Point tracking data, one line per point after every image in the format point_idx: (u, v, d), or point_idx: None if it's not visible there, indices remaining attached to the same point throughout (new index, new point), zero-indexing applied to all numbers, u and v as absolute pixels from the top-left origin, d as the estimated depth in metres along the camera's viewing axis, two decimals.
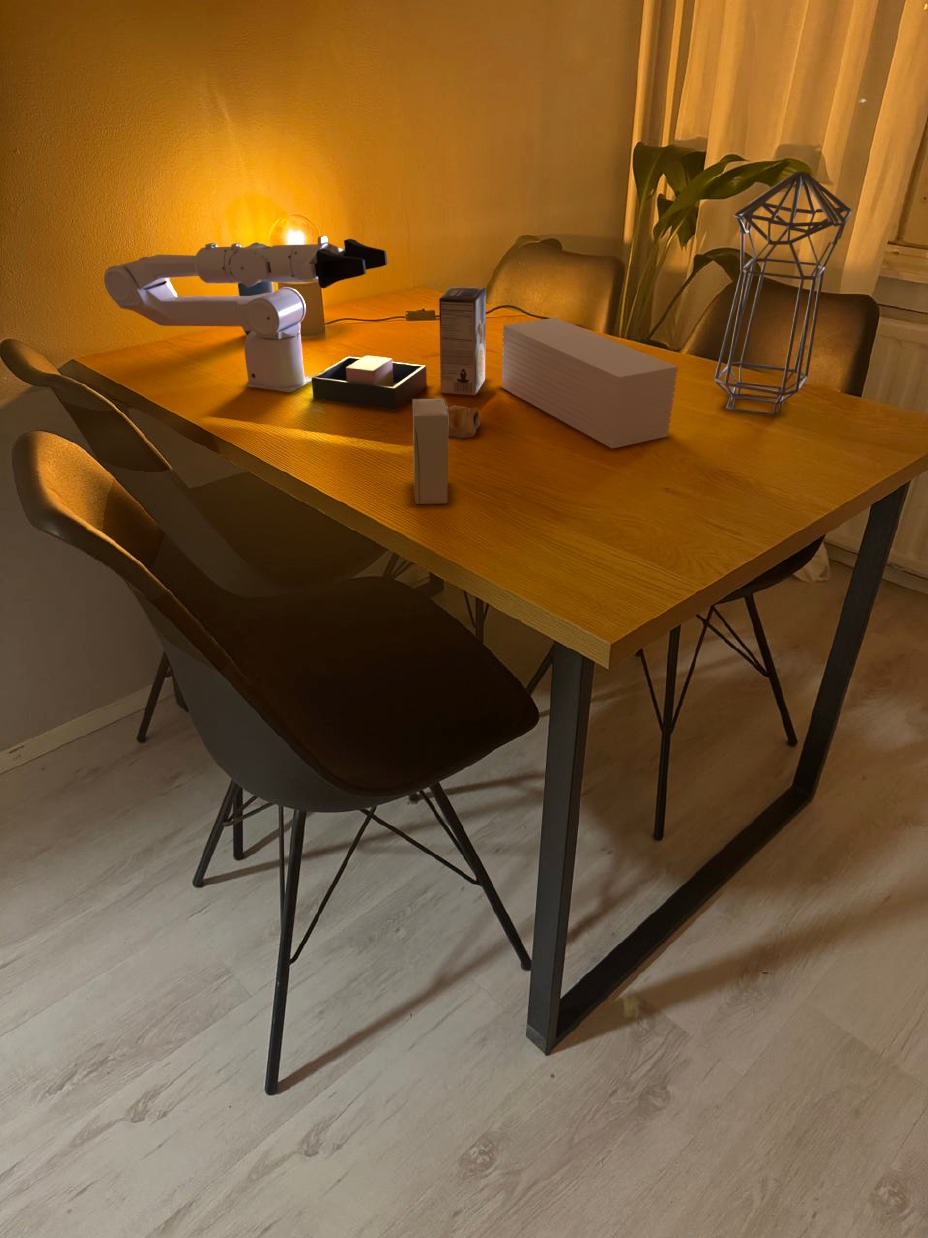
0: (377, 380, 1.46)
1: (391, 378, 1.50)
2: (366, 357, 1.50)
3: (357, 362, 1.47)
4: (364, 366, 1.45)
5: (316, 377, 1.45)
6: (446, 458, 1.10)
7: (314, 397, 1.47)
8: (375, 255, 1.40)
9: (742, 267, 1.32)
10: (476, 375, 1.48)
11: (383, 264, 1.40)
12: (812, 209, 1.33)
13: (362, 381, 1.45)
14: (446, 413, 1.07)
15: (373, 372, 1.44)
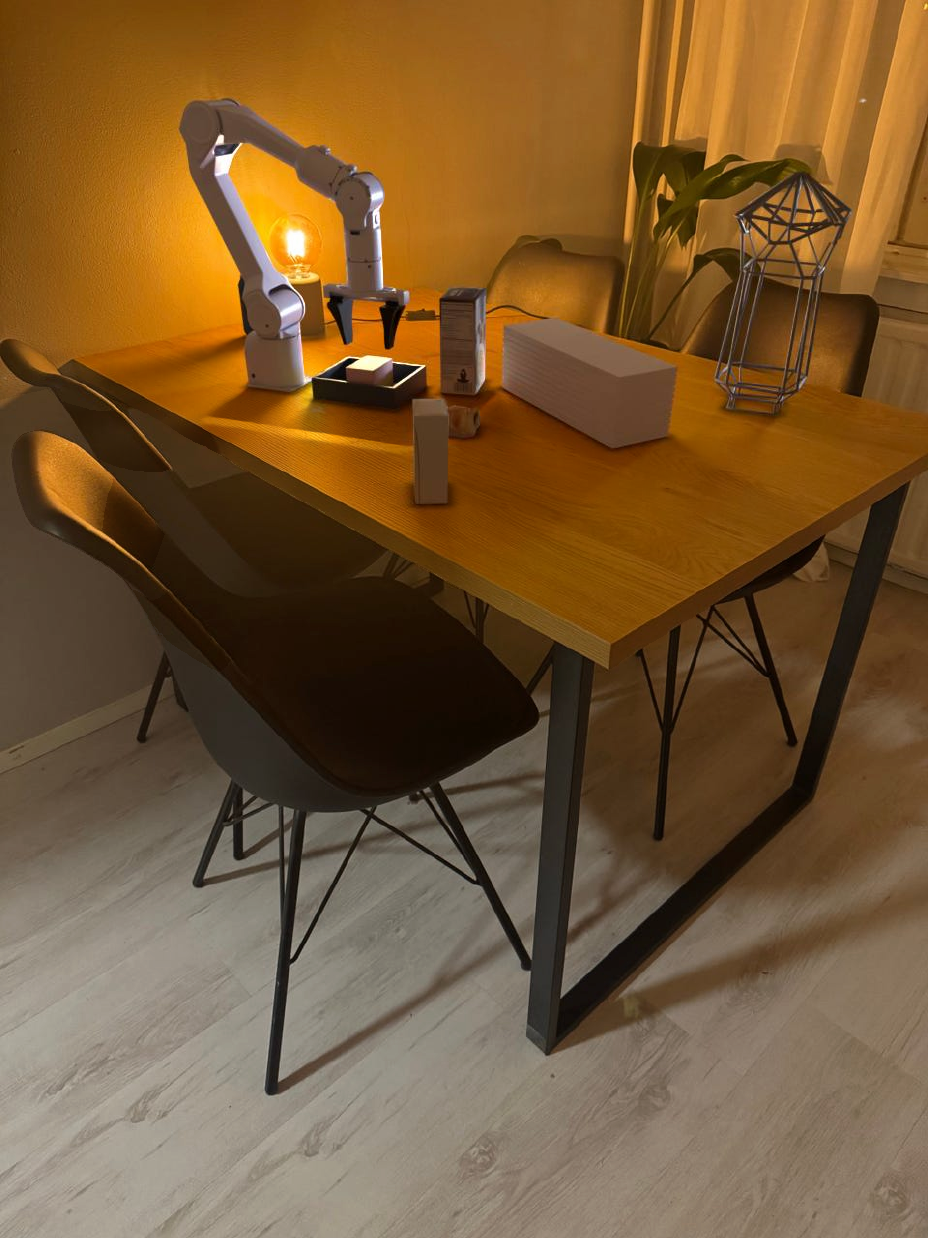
0: (377, 380, 1.46)
1: (391, 378, 1.50)
2: (366, 357, 1.50)
3: (357, 362, 1.47)
4: (364, 366, 1.45)
5: (316, 377, 1.45)
6: (446, 458, 1.10)
7: (314, 397, 1.47)
8: (350, 332, 1.46)
9: (742, 267, 1.32)
10: (476, 375, 1.48)
11: (347, 342, 1.46)
12: (812, 209, 1.33)
13: (362, 381, 1.45)
14: (446, 413, 1.07)
15: (373, 372, 1.44)
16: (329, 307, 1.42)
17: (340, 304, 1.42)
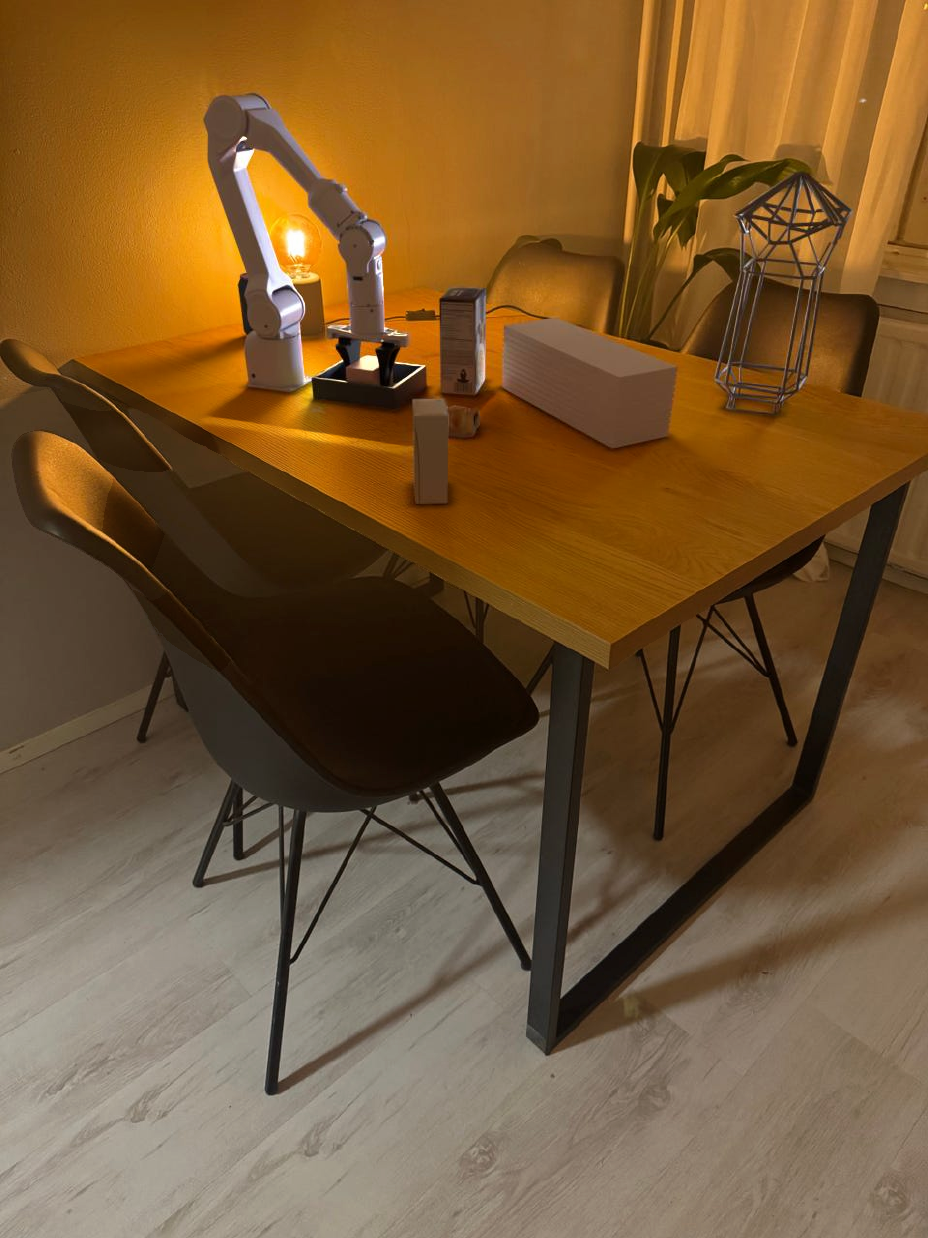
0: (377, 380, 1.46)
1: (390, 378, 1.50)
2: (366, 357, 1.50)
3: (357, 362, 1.47)
4: (364, 366, 1.45)
5: (316, 377, 1.45)
6: (446, 458, 1.10)
7: (314, 397, 1.47)
8: None
9: (742, 267, 1.32)
10: (476, 375, 1.48)
11: None
12: (812, 209, 1.33)
13: (362, 381, 1.45)
14: (446, 413, 1.07)
15: (373, 372, 1.44)
16: (338, 349, 1.45)
17: (348, 346, 1.45)
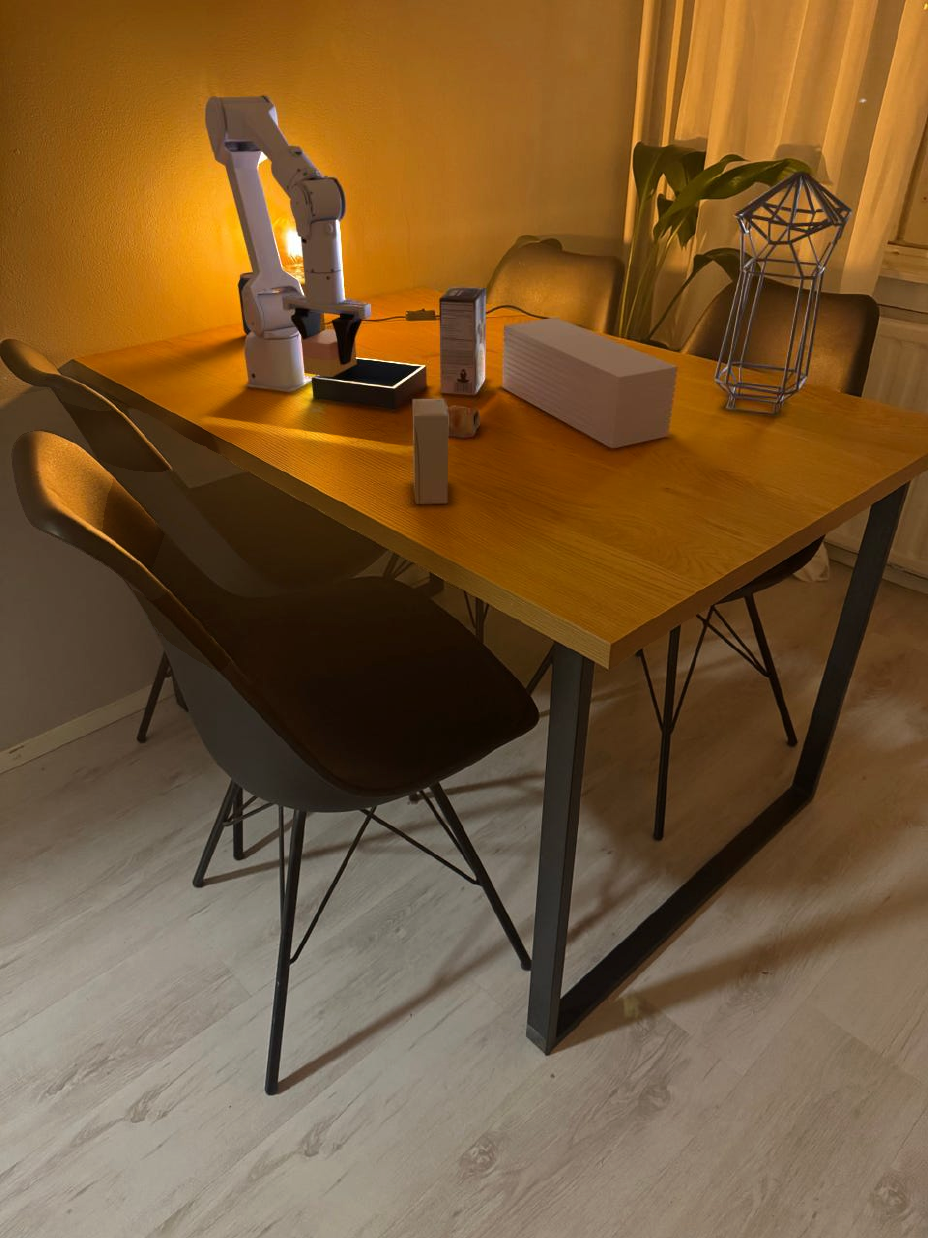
0: (335, 355, 1.33)
1: (353, 354, 1.38)
2: (327, 331, 1.37)
3: (315, 335, 1.35)
4: (321, 339, 1.33)
5: (316, 377, 1.45)
6: (446, 458, 1.10)
7: (314, 397, 1.47)
8: None
9: (742, 267, 1.32)
10: (476, 375, 1.48)
11: None
12: (812, 209, 1.33)
13: (318, 356, 1.33)
14: (446, 413, 1.07)
15: (330, 346, 1.31)
16: (293, 320, 1.33)
17: (305, 317, 1.33)
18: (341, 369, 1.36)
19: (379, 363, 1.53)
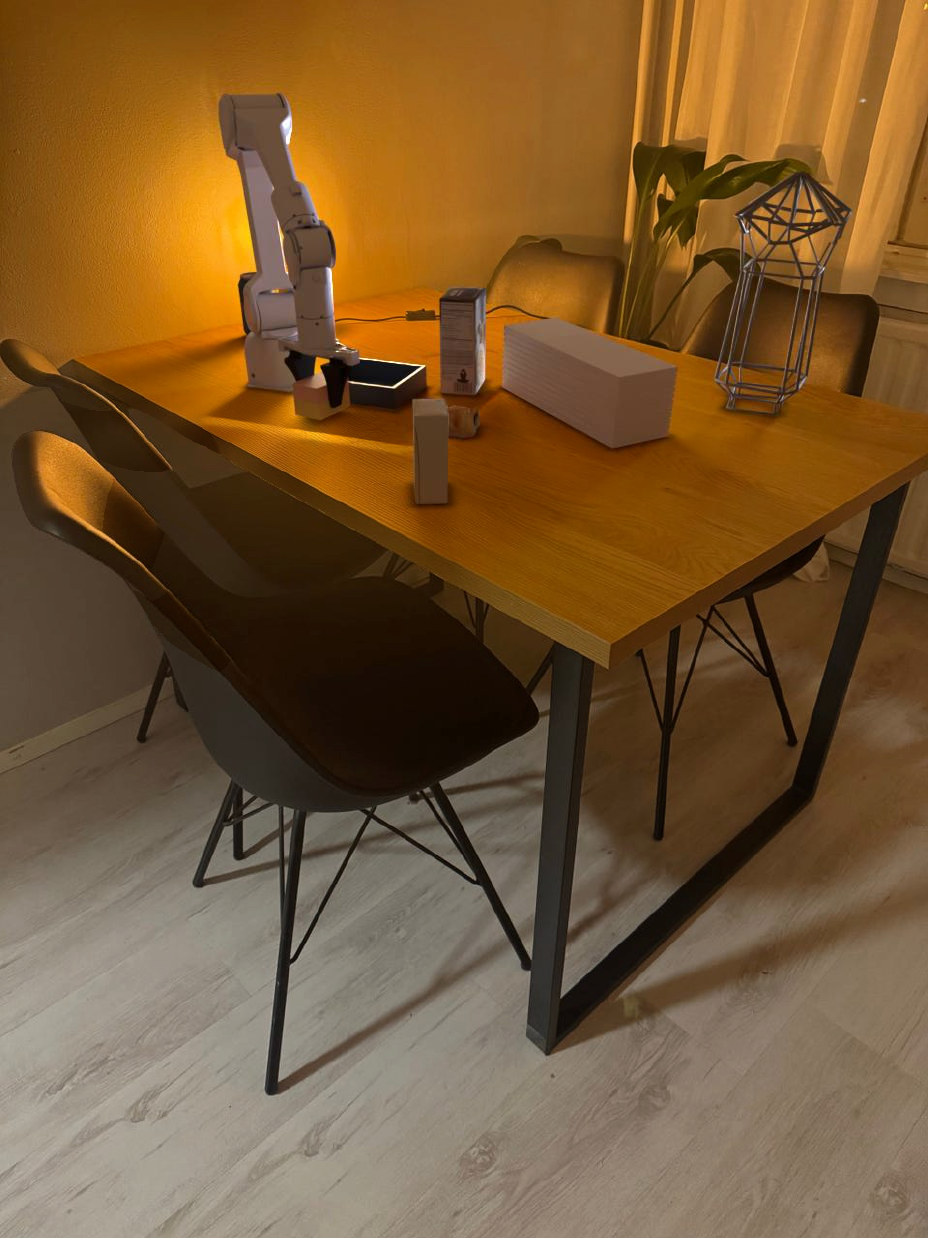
0: (324, 399, 1.34)
1: (346, 397, 1.39)
2: (321, 373, 1.39)
3: (308, 378, 1.36)
4: (311, 383, 1.34)
5: None
6: (446, 458, 1.10)
7: None
8: None
9: (742, 267, 1.32)
10: (476, 375, 1.48)
11: None
12: (812, 209, 1.33)
13: (307, 399, 1.34)
14: (446, 413, 1.07)
15: (318, 390, 1.32)
16: (286, 363, 1.35)
17: (297, 360, 1.34)
18: (331, 412, 1.37)
19: (379, 363, 1.53)
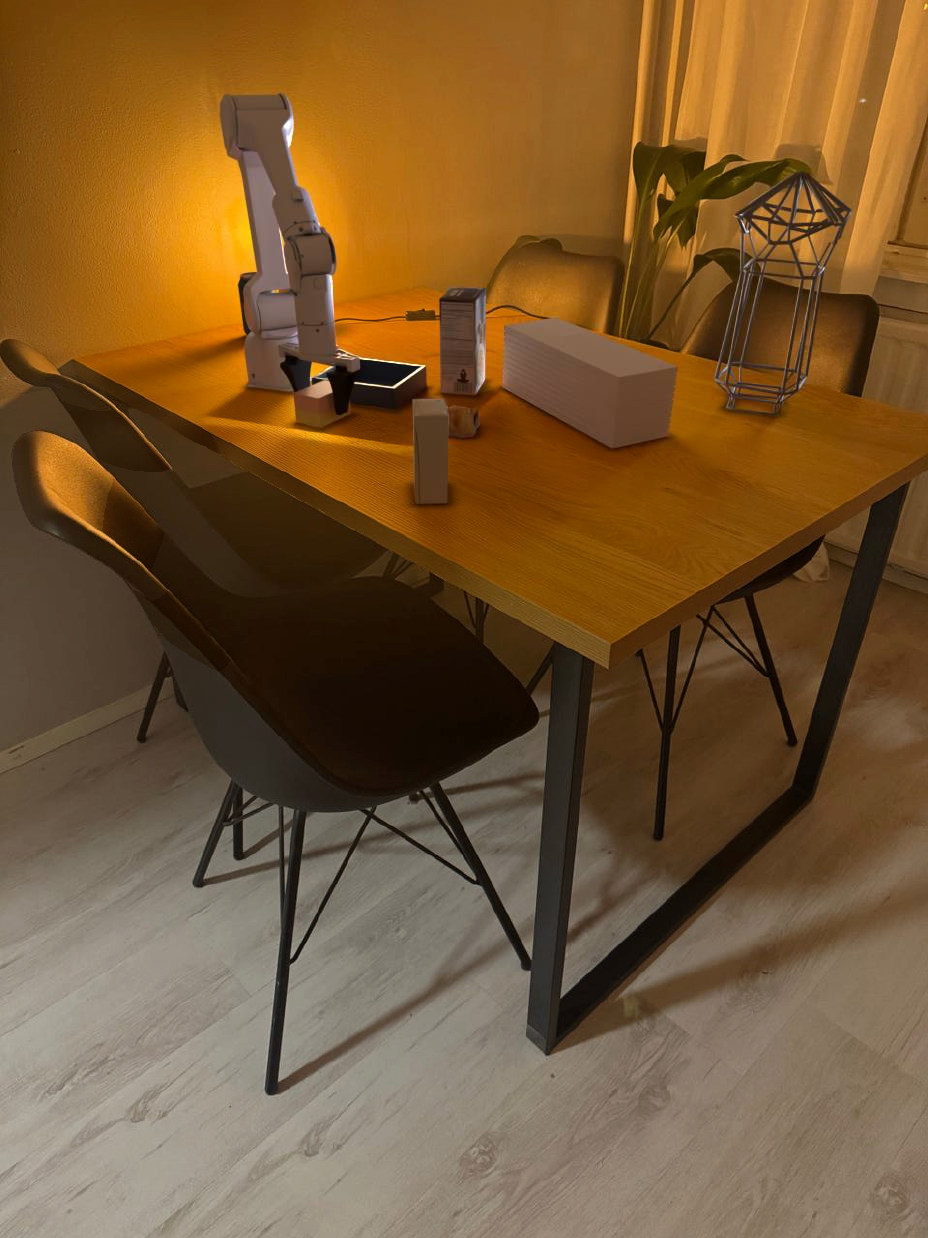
0: (325, 408, 1.35)
1: None
2: (322, 382, 1.39)
3: (309, 387, 1.37)
4: (312, 392, 1.35)
5: (316, 377, 1.45)
6: (446, 458, 1.10)
7: None
8: None
9: (742, 267, 1.32)
10: (476, 375, 1.48)
11: None
12: (812, 209, 1.33)
13: (308, 409, 1.35)
14: (446, 413, 1.07)
15: (319, 400, 1.33)
16: (282, 368, 1.36)
17: (293, 365, 1.35)
18: None
19: (379, 363, 1.53)
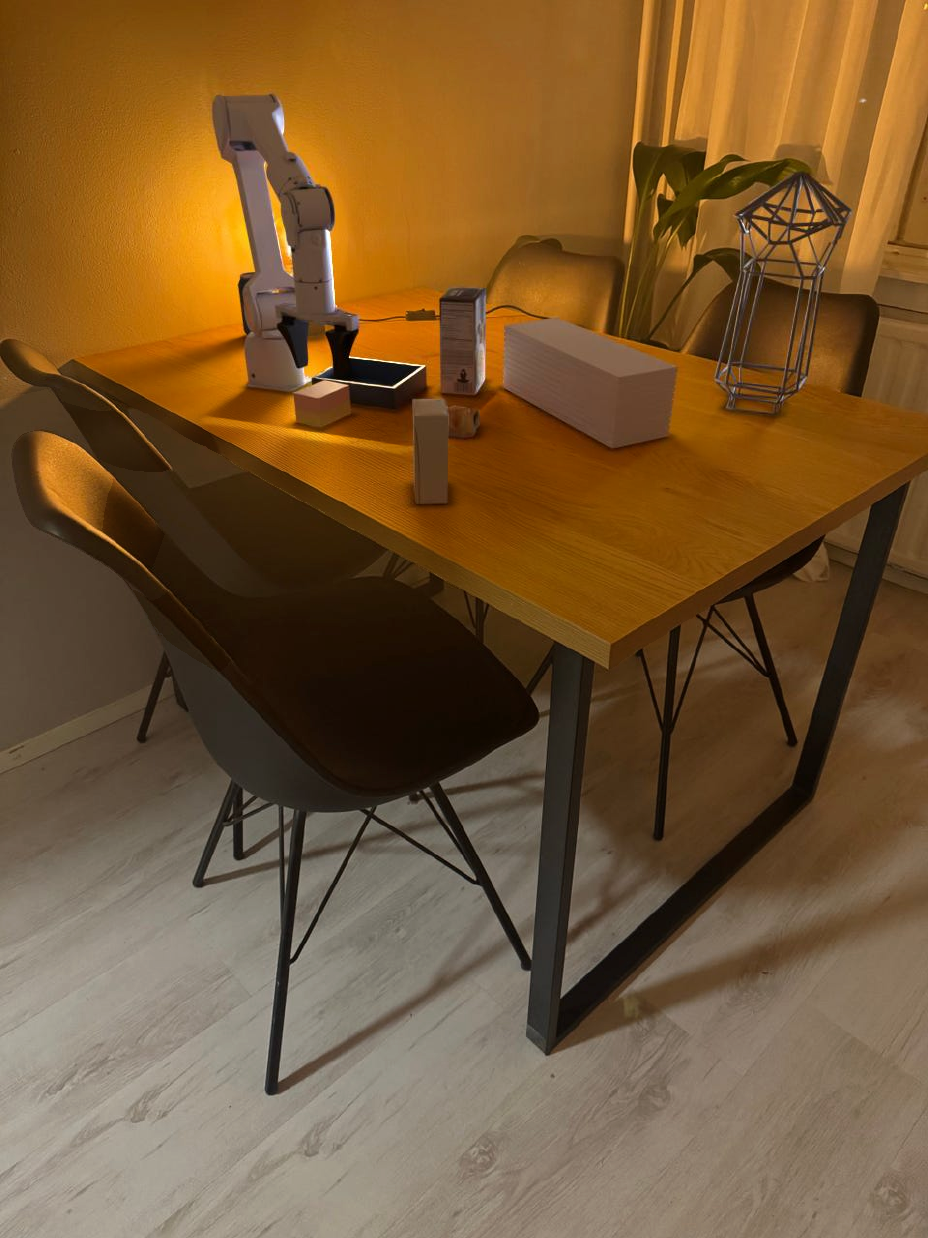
0: (325, 408, 1.35)
1: (347, 407, 1.40)
2: (322, 382, 1.39)
3: (309, 387, 1.37)
4: (312, 392, 1.35)
5: (316, 377, 1.45)
6: (446, 458, 1.10)
7: None
8: (304, 355, 1.37)
9: (742, 267, 1.32)
10: (476, 375, 1.48)
11: (299, 366, 1.36)
12: (812, 209, 1.33)
13: (308, 408, 1.35)
14: (446, 413, 1.07)
15: (319, 400, 1.33)
16: (279, 328, 1.33)
17: (290, 326, 1.32)
18: None
19: (379, 363, 1.53)
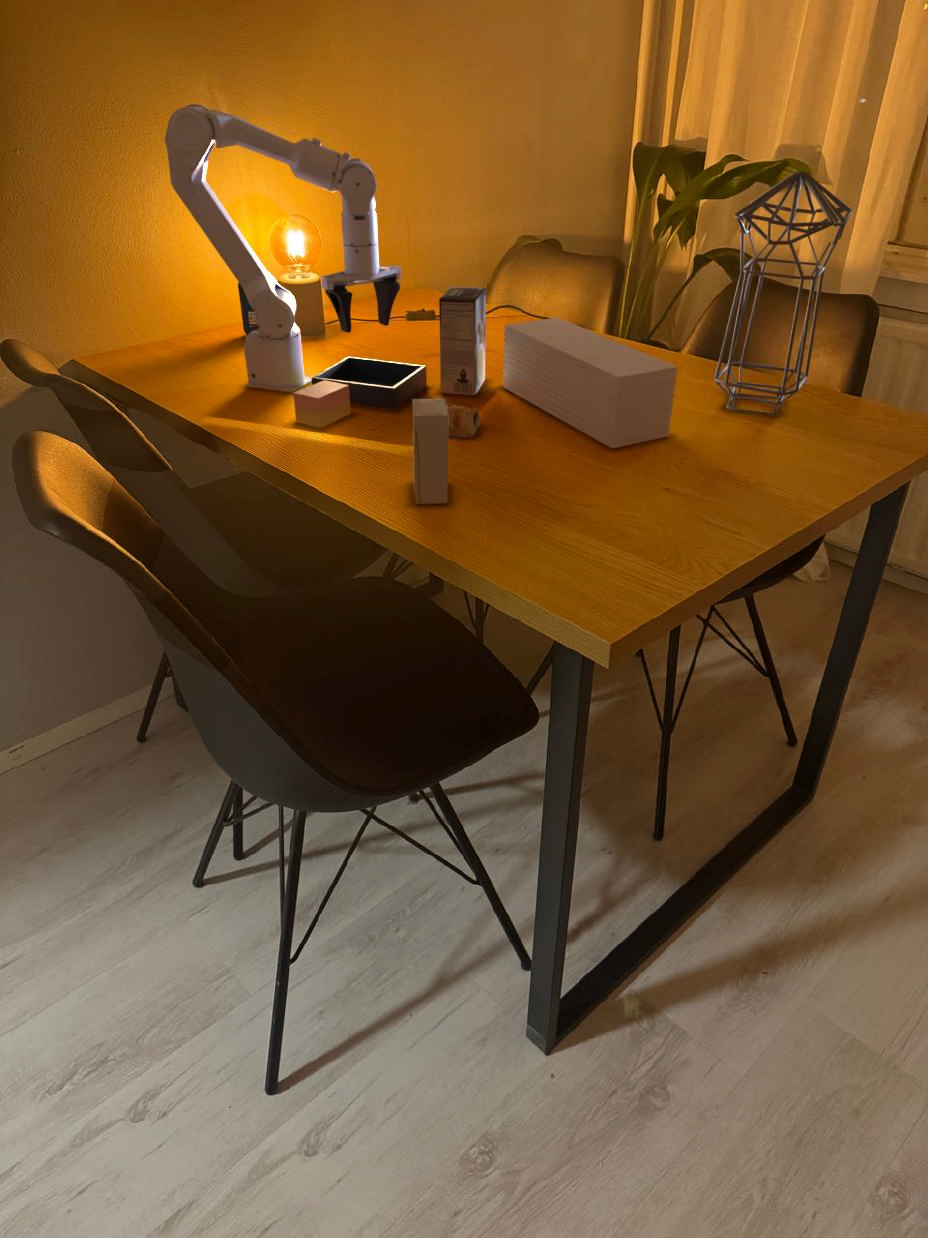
0: (325, 408, 1.35)
1: (347, 407, 1.40)
2: (322, 382, 1.39)
3: (309, 387, 1.37)
4: (312, 392, 1.35)
5: (316, 377, 1.45)
6: (446, 458, 1.10)
7: None
8: None
9: (742, 267, 1.32)
10: (476, 375, 1.48)
11: (350, 329, 1.48)
12: (812, 209, 1.33)
13: (308, 408, 1.35)
14: (446, 413, 1.07)
15: (319, 400, 1.33)
16: (343, 297, 1.43)
17: (348, 292, 1.44)
18: None
19: (379, 363, 1.53)
